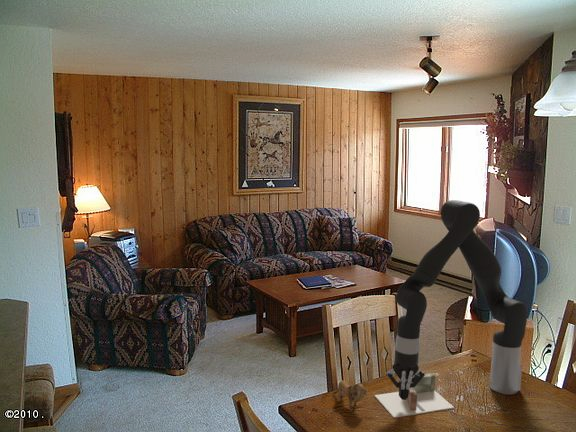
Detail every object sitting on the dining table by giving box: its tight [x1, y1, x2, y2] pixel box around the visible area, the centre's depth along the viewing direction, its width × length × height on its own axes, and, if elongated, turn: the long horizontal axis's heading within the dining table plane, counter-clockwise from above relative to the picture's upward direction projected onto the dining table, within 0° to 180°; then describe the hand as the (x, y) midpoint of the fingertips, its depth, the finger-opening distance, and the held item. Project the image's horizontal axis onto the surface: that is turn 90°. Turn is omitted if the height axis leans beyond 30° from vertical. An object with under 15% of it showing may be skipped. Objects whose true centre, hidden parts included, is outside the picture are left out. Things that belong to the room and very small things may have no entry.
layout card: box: [374, 390, 455, 419], centre depth 167 cm, size 22×14×1 cm, turn 106°
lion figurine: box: [332, 380, 369, 411], centre depth 166 cm, size 15×5×9 cm, turn 38°
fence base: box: [412, 372, 436, 393], centre depth 173 cm, size 12×2×6 cm, turn 106°
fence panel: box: [407, 387, 417, 410], centre depth 165 cm, size 10×2×6 cm, turn 179°
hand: (403, 398), depth 162 cm, fingers closed
